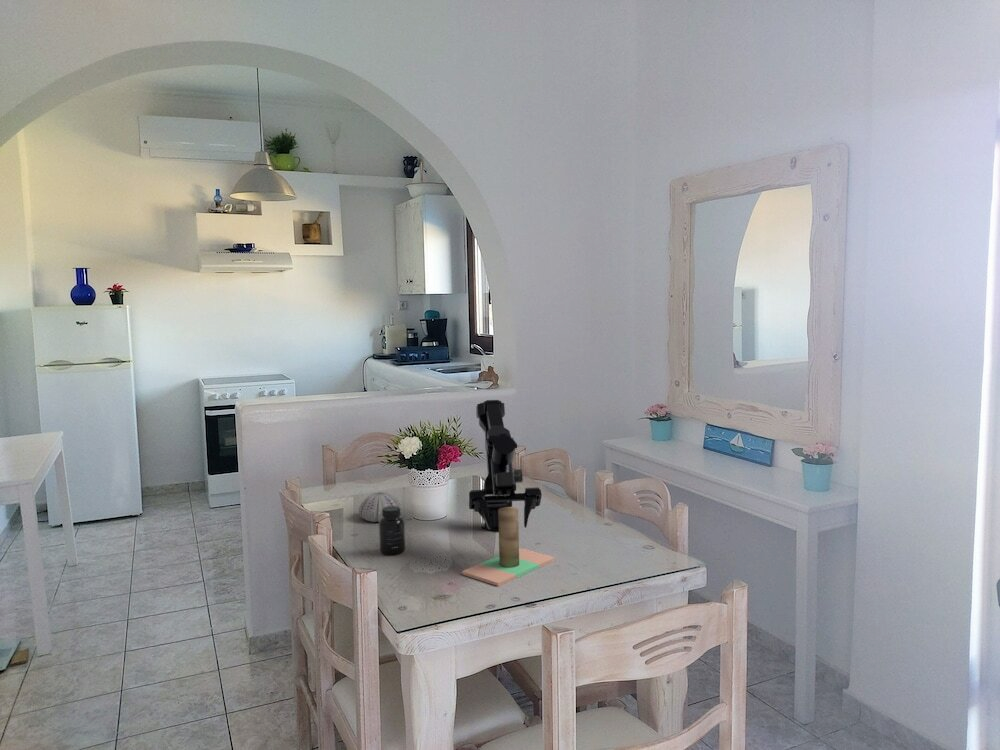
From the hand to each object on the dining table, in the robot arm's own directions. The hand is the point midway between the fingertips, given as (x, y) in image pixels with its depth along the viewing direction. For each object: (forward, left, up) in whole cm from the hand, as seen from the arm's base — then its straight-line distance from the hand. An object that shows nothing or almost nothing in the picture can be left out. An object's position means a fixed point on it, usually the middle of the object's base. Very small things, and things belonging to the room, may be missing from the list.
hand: (507, 527), depth 185 cm
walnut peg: (+2, +2, -9) cm, 9 cm away
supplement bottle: (+13, -30, -10) cm, 34 cm away
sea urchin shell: (-5, -57, -10) cm, 58 cm away
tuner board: (+2, +2, -9) cm, 10 cm away
